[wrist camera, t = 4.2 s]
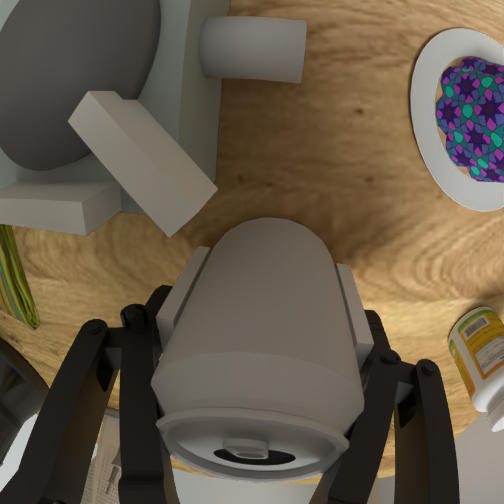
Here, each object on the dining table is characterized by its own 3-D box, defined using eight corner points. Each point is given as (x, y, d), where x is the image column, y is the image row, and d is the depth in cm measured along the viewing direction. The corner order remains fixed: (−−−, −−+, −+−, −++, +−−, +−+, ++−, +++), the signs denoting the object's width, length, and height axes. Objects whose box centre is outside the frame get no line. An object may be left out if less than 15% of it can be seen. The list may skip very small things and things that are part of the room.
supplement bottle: (474, 351, 20) (509, 430, 11) (436, 350, 20) (469, 443, 11) (503, 306, 17) (553, 385, 9) (466, 301, 17) (520, 395, 9)
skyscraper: (164, 442, 34) (117, 590, 10) (121, 432, 36) (70, 565, 11) (139, 414, 31) (76, 586, 6) (94, 404, 32) (28, 552, 7)
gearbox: (3, 177, 17) (-68, 214, 10) (8, 29, 11) (-66, 32, 3) (286, 188, 16) (284, 265, 8) (307, -37, 9) (317, -127, 1)
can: (221, 317, 20) (174, 479, 9) (201, 216, 16) (89, 384, 6) (329, 314, 19) (348, 487, 8) (333, 208, 15) (404, 398, 5)
